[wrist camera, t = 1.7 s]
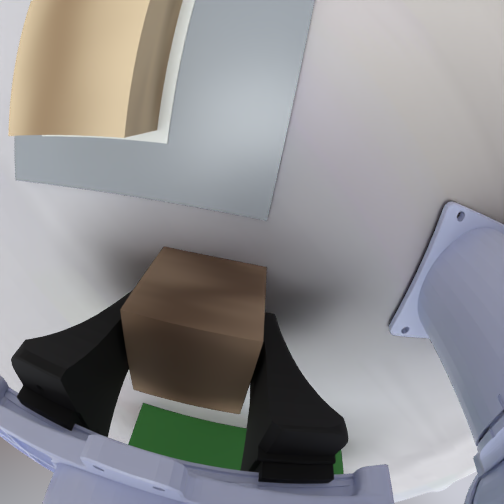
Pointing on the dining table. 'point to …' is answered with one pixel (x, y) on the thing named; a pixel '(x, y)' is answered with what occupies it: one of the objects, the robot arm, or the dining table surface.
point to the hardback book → (193, 439)
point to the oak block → (92, 67)
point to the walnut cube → (195, 329)
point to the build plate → (198, 116)
